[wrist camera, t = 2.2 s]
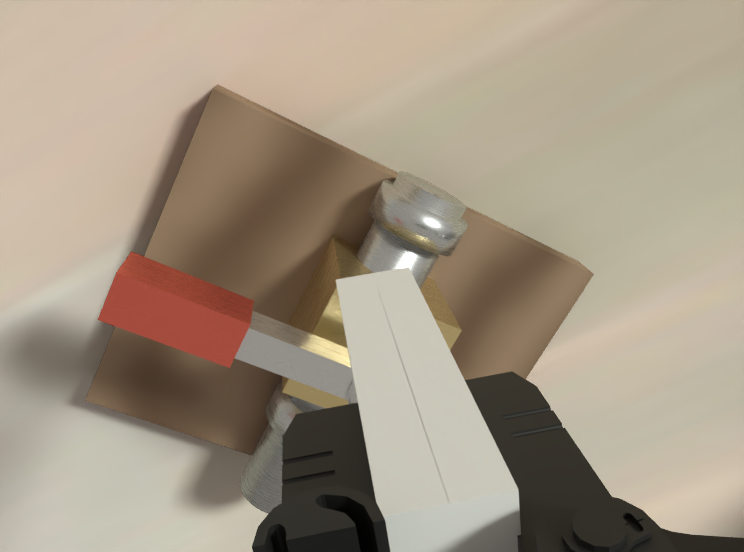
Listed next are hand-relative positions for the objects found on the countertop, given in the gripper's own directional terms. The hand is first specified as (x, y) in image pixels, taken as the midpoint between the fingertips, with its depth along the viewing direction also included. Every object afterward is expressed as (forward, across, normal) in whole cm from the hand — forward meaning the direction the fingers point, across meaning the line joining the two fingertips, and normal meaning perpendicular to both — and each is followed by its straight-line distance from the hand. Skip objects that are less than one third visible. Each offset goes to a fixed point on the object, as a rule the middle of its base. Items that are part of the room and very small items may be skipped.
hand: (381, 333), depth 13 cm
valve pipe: (+19, +1, +10) cm, 22 cm away
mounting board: (+21, +1, +10) cm, 23 cm away
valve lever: (+12, +4, +5) cm, 14 cm away
